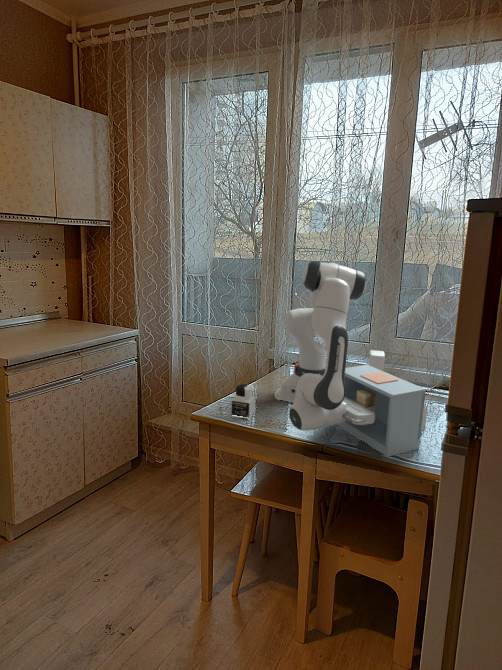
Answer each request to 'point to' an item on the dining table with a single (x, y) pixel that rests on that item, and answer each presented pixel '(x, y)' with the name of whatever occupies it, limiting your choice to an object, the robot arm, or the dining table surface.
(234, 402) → the medicine bottle
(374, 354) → the skincare box
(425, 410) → the tea bag
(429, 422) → the dining table surface
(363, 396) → the oak block
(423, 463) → the dining table surface
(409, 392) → the cubby
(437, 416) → the dining table surface
